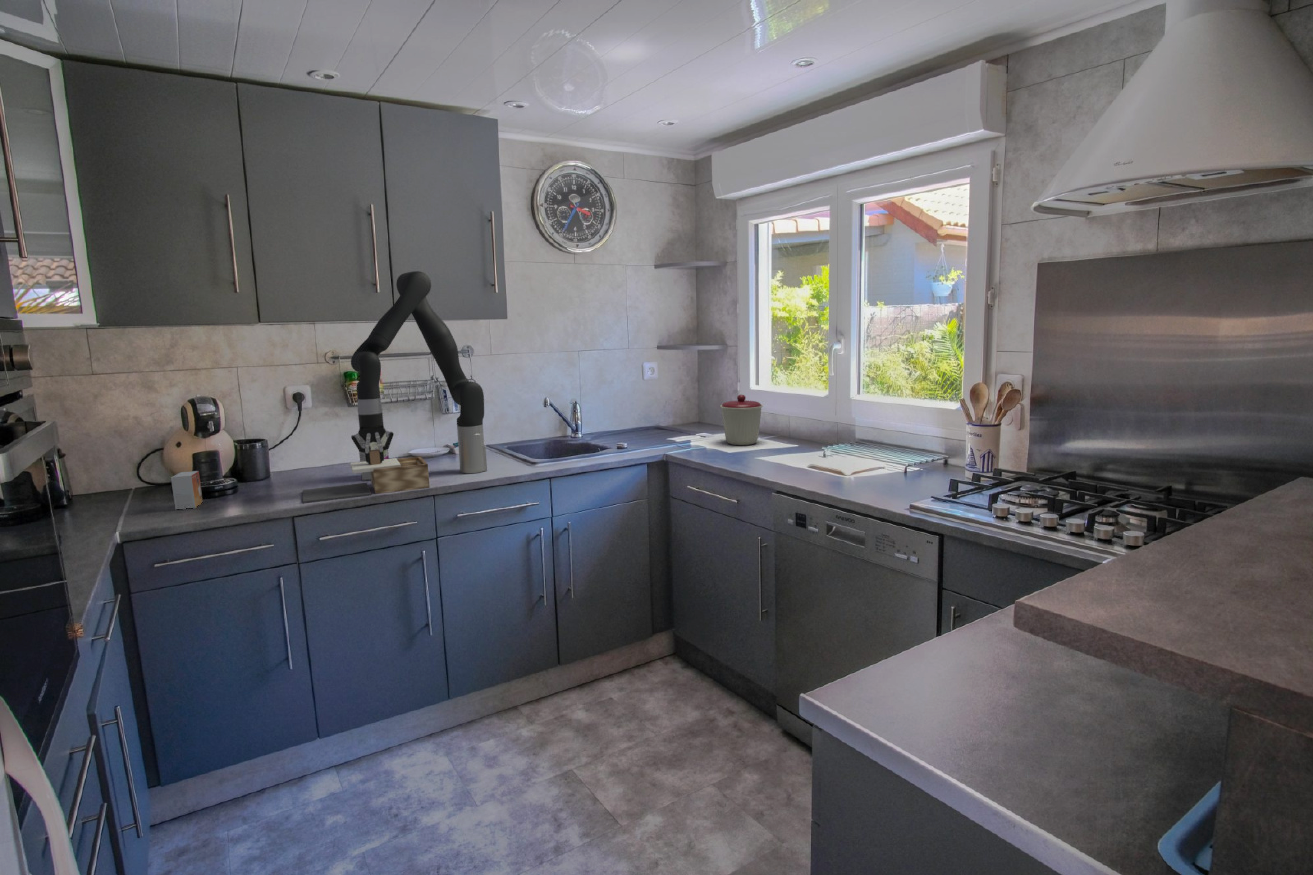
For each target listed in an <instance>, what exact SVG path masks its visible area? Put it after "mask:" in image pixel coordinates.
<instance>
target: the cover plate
mask: <svg viewBox="0 0 1313 875" xmlns="http://www.w3.org/2000/svg"><path fill="white" fill-rule="evenodd" d="M369 453H370V462H371V464H368V463H367V462H366V461H364V462H360V461H355V462H350V469H351V472H352V474H362V473H363V472H372V471H373V469H382V468H392V467H401V464H400V463H399V461H398V460H397V459H398V458H396V457H394V458H389V459H384V461H382V463H380V454H379V450H369Z"/></svg>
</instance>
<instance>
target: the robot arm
mask: <svg viewBox="0 0 1313 875" xmlns="http://www.w3.org/2000/svg"><path fill="white" fill-rule="evenodd" d="M395 286H396V289H397V293H398V294H399V296H398V298H397V299H396V301H395V302H394V303H393V305H392V306H391V307H390V308H389V309H388V310H387V311H386V312H385V313H384V314H383V315H382V317H381V318H379V320H378V321H377V323H376V324H375V326H374V327H373V328H372V330H371V331H370V333H369V334H368V337H367V338H366V339H365V340H364V341H363V342H362V343H361V344H360V345H359V346H358V348H357V349H356V350H355V351H354V353H353V354H352V356H351V359H350V365H351V368H352V369H353V370H354V372H357V373H359V381H358V382H357V383H356V396H357V397H356V398H357V405H356V406H357V416H358V425H359V426H358V427H359V430H358V432H357V433H356V434H352V435H351V437H350V438H351V440H352V441H353V443H354V445H355V447H356V448H357V450H358V452H359V451H360V452H364V453H365V458H366V462H367V463H368V464H371V462H370V453H369V446H370V443H372V442H377V445H378V448H379V454H380V463H382V461H384V453H383V452H384V450H387V449H388V450H389V448H390V446H391V444H392V440H393V438H394V432H393V431H388V430H386V428H385V425H384V417H383V416H384V415H383V405H382V400H381V391H380V380H381V370H382V369H381V368H382V365H381V359H380V357H379V355H380V354H381V353H383V352H384V351H385V352H386V351H387V350H388V348H390V346H391V344H392V342H393V341H394V339H395V337H396V336H397V334H398V333H399V331H400V330H401V329H402V327H403V325H404V324H405V323H406V321H407V319H409V317H410V316H411V315H412V317H413V319H414V321H415V323H416V325H417V327H418V329H419V331H420V333H421V336H422V337H423V339H424V342H425V343H426V344H425V345H427V348H428V350H429V352H430V353H431V355H432V356H433V359H434V361H435V363H436V364H437V366H438V369H439V370H440V371H441V374H442V376H443V379H444V380H445V382H446V385H447V389H448V392H449V393H450V396H451V398H452V400H453V401H454V403H455V404H457V405H459V406H460V410H459V411H460V414H459V416H457V418H456V430H457V443H458V445H457V446H458V457H459V458H458V460H459V471H460V473H463V474H478V473H483V472H487V471H488V463H487V461H488V460H487V449H486V448H487V445H485V440H484V439H485V438H484V437H485V436H484V423H483V422H484V417H485V393H484V390H483V387H482V386H481V384H479V383H477V382H476V381H475V382H474V381H469V380H468V378H467V376H466V374H465V372H464V371H463V369H462V366H461V364H460V358H459V351H458V346H457V343H456V340H455V338H454V336H453V334H452V332H451V330H450V328H449V327H448V325H447V324H446V323H445V322H444V321H443V319H442V318H441V317H440V316H439V315H438V314H437V313H436V312H435V311H434V310H433V308H432V307H431V305H430V304H429V300H428V299H427V296H428V295H429V294H430V292H431V289H432V282H431V279H430V277H429V276H428V275H427V274H426V273H425V272H424V271H421V270H420V271H418V270H415V271H414V270H413V271H408V272H404V273H402V274H399V276H398V278H396V285H395ZM384 434H386V437H387V440H386V443H385V446H383V447H382V443H381V439H382V437H383V436H384ZM359 436H361V437H362V438H363V440H364V441H365V448H362V447H361V446H360V444H359V442H358V440H359Z"/></svg>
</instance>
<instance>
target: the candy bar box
mask: <svg viewBox="0 0 1313 875" xmlns="http://www.w3.org/2000/svg"><path fill="white" fill-rule="evenodd" d="M386 440H387V437H386V434H384V436H383V437H382V439H381V443H382V447H383V446H385V443H386ZM358 442H359V444H360V446H361V447H362V448H365V441H364V440H363V438H362V437H361V436H359V440H358ZM369 450H379V448H378V445H377V442H372V443H370V446H369ZM383 453H384V459H390V457H389V449H387V450H384V452H383ZM358 455H359V462H364V461H366V458H365V453H364V452H360V451H359V450H358ZM361 479H362V481H371V472H363V473H361Z"/></svg>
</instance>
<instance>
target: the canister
mask: <svg viewBox="0 0 1313 875" xmlns="http://www.w3.org/2000/svg"><path fill="white" fill-rule="evenodd" d="M736 398H737V399H736V400H730V401H725V402H723V403H722V404H720V406H719V407H720V408H721V413H722V414H721V415H722V422H723V430H724V431H723V432H724V437H725V441H726V442H727V443H728V444H729V445H733V446H751V445H754V444H756V443H757V441H758V440H759V435H760V434H759V432H760V425H761V414H762V408H763V407H764V405H763V404H761V403H760V402H758V401H756V400H755V401H754V400H746V395H744V394H738V395H737V397H736Z"/></svg>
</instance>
